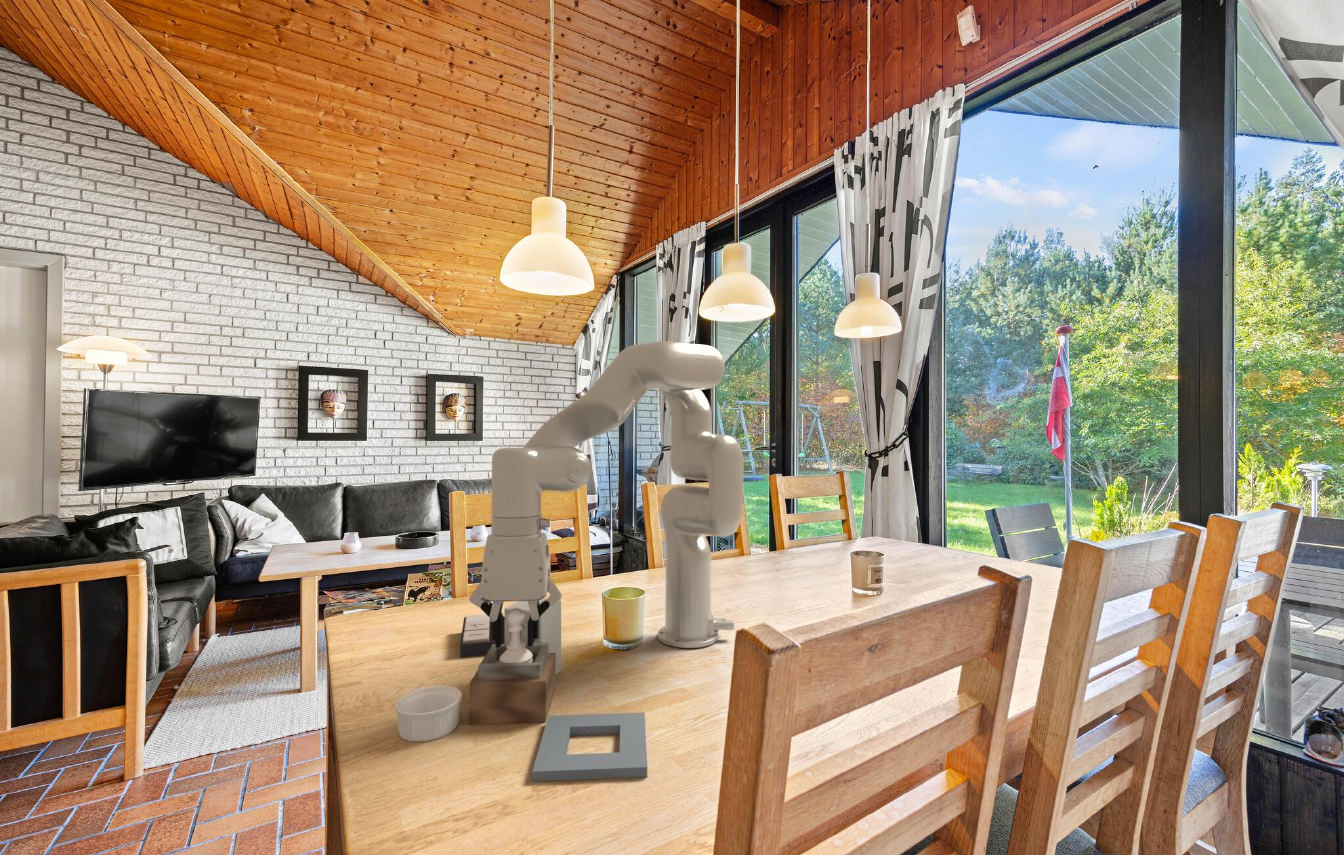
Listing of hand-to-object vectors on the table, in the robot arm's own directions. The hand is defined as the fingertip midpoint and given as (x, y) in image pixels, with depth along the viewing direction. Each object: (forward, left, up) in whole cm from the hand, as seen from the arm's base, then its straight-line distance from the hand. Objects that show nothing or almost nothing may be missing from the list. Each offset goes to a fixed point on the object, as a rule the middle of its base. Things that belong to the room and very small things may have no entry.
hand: (515, 642), depth 89 cm
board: (-13, +13, -10) cm, 21 cm away
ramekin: (+11, +6, -10) cm, 16 cm away
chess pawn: (0, 0, -4) cm, 4 cm away
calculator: (+11, -29, -10) cm, 32 cm away
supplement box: (-1, -11, -10) cm, 15 cm away
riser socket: (0, 0, -10) cm, 10 cm away
